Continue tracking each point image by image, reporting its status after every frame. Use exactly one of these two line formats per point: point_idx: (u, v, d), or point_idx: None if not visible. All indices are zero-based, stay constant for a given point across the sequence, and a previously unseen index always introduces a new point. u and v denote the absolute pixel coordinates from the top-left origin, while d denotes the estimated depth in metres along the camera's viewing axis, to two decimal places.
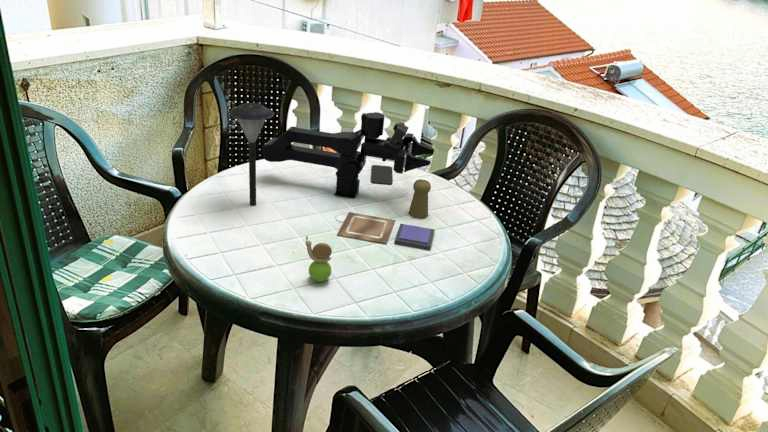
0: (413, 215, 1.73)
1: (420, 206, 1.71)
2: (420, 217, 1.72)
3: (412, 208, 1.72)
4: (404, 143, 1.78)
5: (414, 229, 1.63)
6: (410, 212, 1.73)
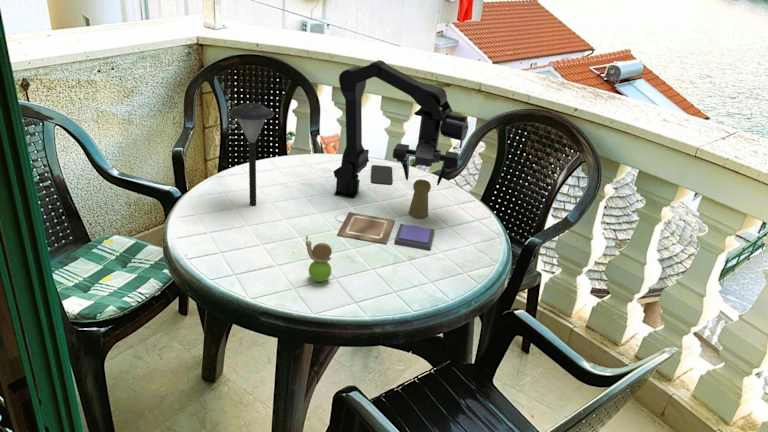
0: (413, 215, 1.73)
1: (420, 206, 1.71)
2: (420, 217, 1.72)
3: (412, 208, 1.72)
4: (444, 156, 1.64)
5: (414, 229, 1.63)
6: (410, 212, 1.73)
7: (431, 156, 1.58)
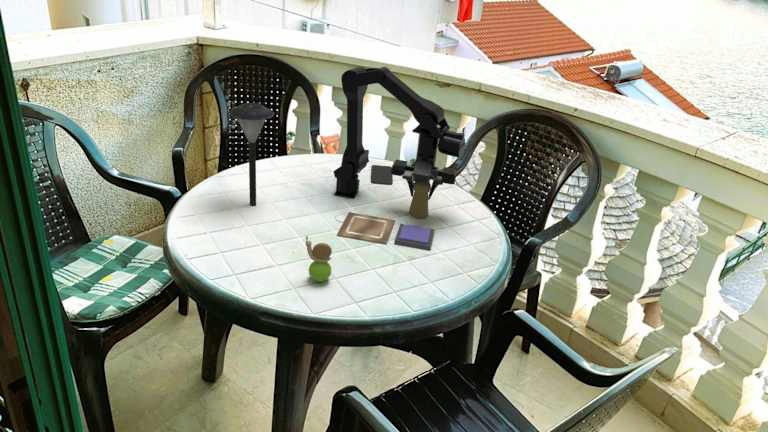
0: (413, 215, 1.73)
1: (420, 206, 1.71)
2: (420, 217, 1.72)
3: (412, 208, 1.72)
4: (442, 173, 1.67)
5: (414, 229, 1.63)
6: (410, 212, 1.73)
7: (429, 173, 1.60)
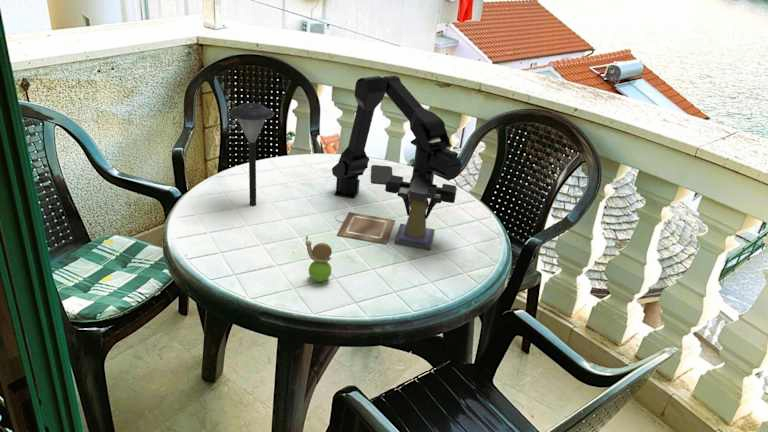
0: (409, 234, 1.59)
1: (417, 224, 1.57)
2: (417, 236, 1.58)
3: (409, 226, 1.58)
4: (441, 190, 1.53)
5: None
6: (406, 231, 1.59)
7: (426, 191, 1.46)
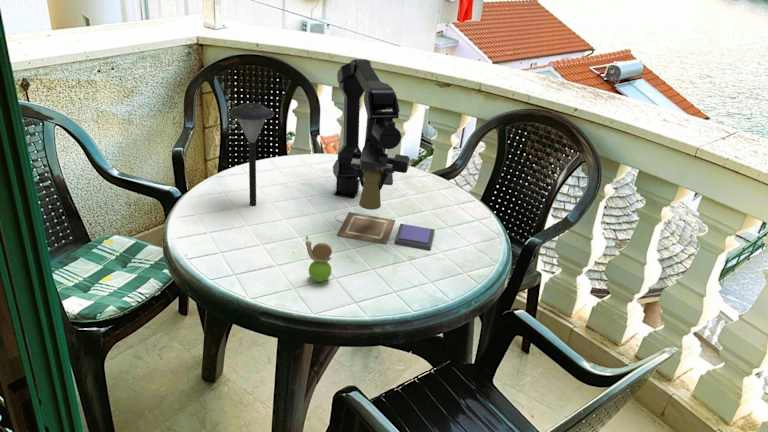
0: (364, 206, 1.58)
1: (371, 195, 1.57)
2: (371, 208, 1.58)
3: (363, 198, 1.58)
4: None
5: (414, 229, 1.63)
6: (361, 202, 1.59)
7: (377, 160, 1.46)
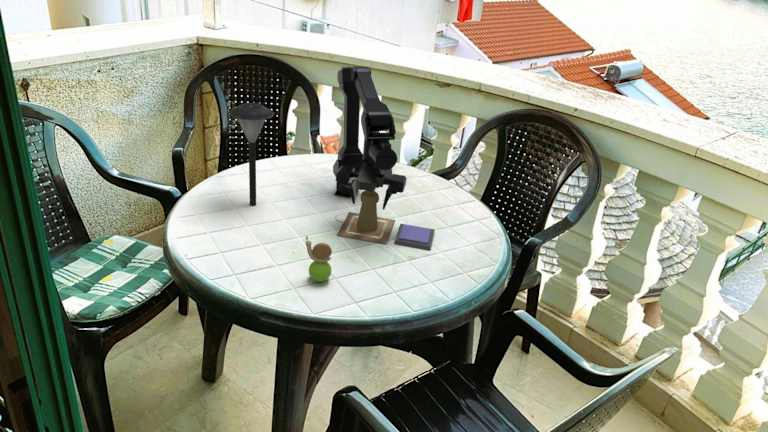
0: (361, 228, 1.62)
1: (368, 218, 1.60)
2: (368, 230, 1.61)
3: (360, 220, 1.61)
4: None
5: (414, 229, 1.63)
6: (358, 225, 1.62)
7: (373, 181, 1.49)
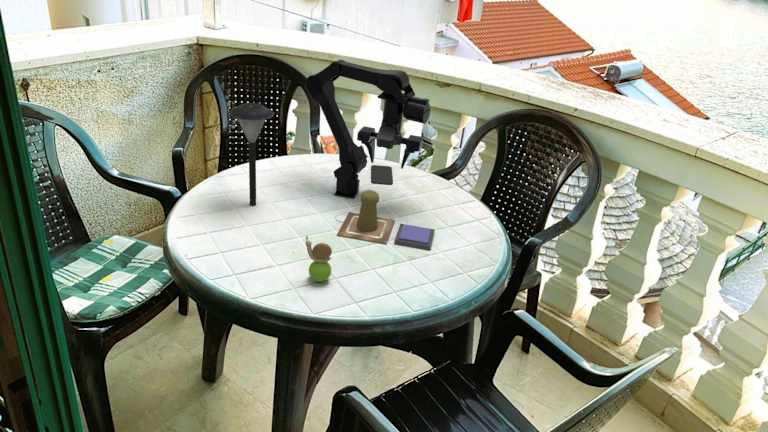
0: (361, 228, 1.62)
1: (368, 218, 1.60)
2: (368, 230, 1.61)
3: (360, 220, 1.61)
4: None
5: (414, 229, 1.63)
6: (358, 225, 1.62)
7: (391, 138, 1.61)
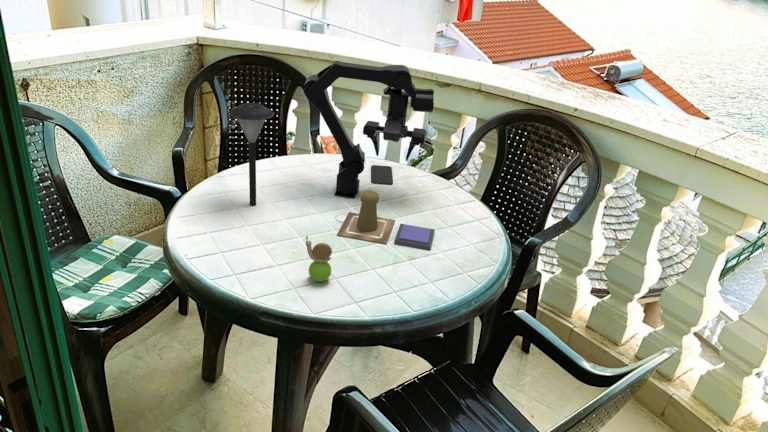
0: (361, 228, 1.62)
1: (368, 218, 1.60)
2: (368, 230, 1.61)
3: (360, 220, 1.61)
4: None
5: (414, 229, 1.63)
6: (358, 225, 1.62)
7: (398, 131, 1.66)
